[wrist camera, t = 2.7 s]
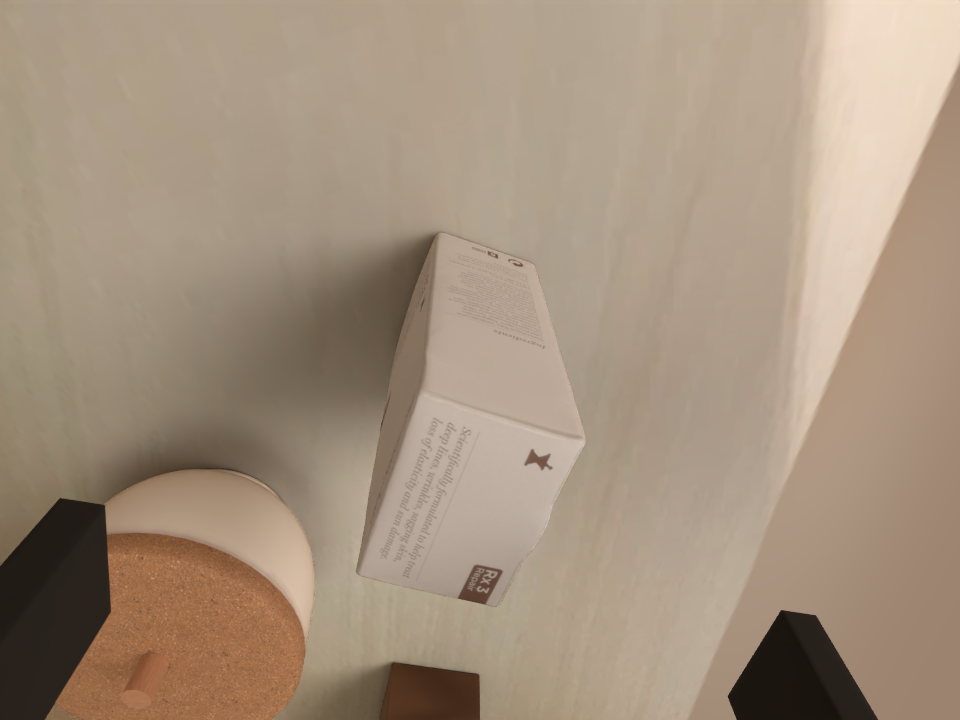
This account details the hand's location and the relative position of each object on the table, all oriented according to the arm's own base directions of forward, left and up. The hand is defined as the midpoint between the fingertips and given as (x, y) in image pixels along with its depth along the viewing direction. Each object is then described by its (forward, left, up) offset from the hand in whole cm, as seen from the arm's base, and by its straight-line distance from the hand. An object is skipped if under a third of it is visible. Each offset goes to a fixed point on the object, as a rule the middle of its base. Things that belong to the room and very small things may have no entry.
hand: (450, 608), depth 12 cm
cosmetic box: (0, 0, -15) cm, 15 cm away
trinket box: (+9, +13, -15) cm, 22 cm away
